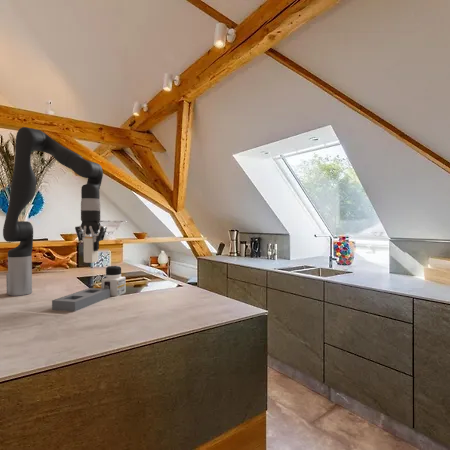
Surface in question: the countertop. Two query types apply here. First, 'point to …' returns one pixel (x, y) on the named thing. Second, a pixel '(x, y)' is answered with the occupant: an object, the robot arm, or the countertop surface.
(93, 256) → the plug peg
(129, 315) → the countertop surface
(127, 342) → the countertop surface
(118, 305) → the countertop surface
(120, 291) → the container
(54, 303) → the panel
